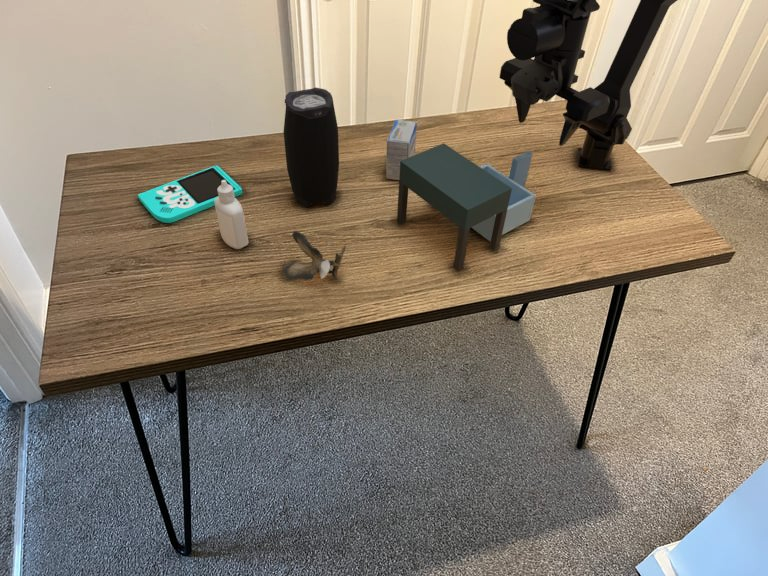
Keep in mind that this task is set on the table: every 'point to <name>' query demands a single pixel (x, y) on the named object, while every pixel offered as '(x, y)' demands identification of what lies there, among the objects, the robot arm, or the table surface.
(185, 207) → the handheld game console
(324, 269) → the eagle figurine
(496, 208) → the cabinet
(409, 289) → the table surface
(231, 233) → the eye dropper bottle
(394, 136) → the medicine box
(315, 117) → the portable speaker
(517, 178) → the drawer
